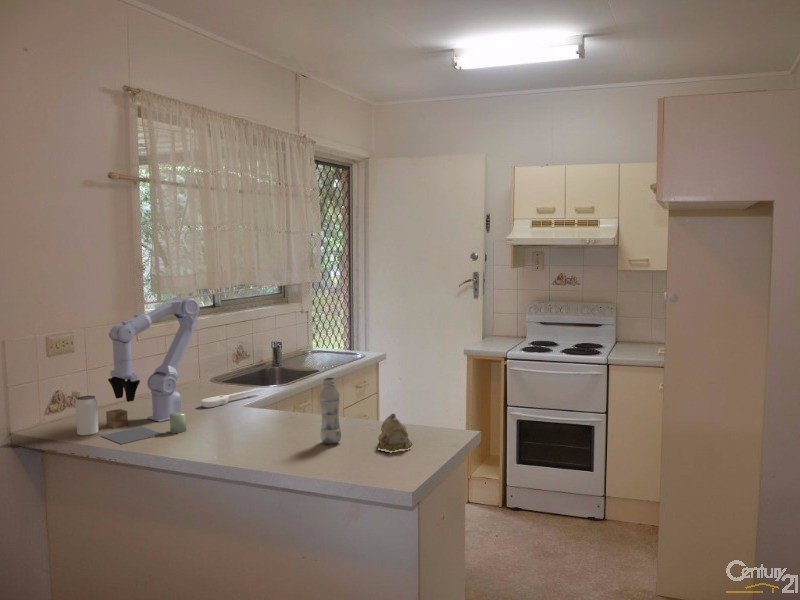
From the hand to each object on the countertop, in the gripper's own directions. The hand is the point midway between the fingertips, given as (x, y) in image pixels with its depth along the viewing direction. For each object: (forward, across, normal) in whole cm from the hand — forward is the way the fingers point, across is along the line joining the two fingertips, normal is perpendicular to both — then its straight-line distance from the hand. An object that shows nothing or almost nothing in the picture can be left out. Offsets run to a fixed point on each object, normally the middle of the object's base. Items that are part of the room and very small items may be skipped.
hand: (124, 399), depth 233 cm
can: (+10, -3, -12) cm, 16 cm away
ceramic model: (+10, +86, +39) cm, 95 cm away
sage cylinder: (+10, +20, +8) cm, 23 cm away
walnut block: (+10, -4, -1) cm, 11 cm away
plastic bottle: (+10, +69, +30) cm, 76 cm away
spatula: (+10, -2, +45) cm, 46 cm away
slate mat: (+9, +12, -4) cm, 15 cm away
